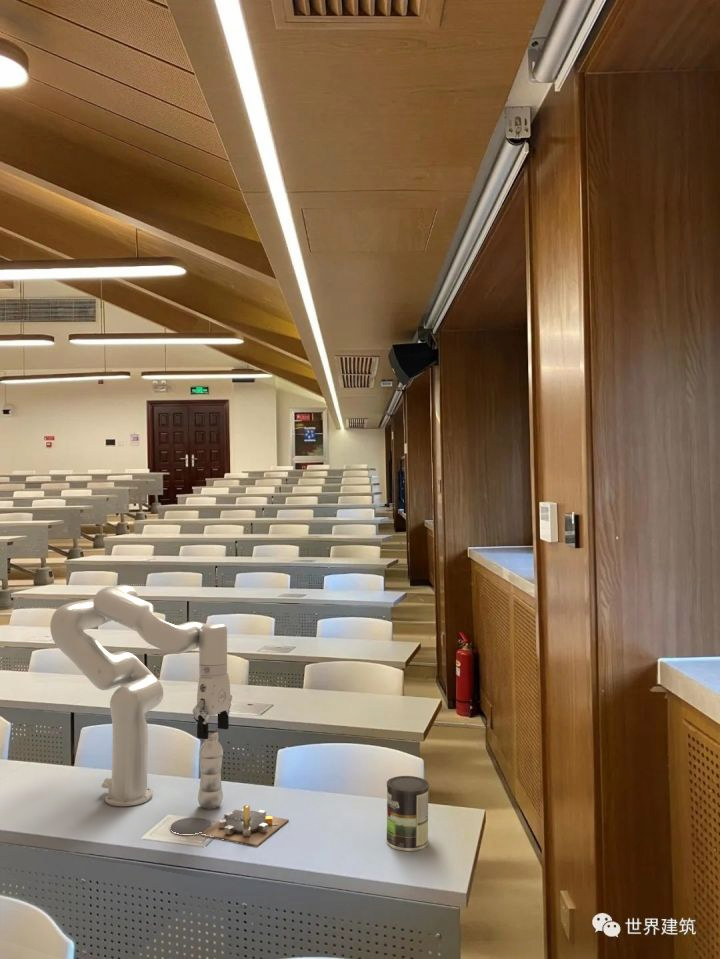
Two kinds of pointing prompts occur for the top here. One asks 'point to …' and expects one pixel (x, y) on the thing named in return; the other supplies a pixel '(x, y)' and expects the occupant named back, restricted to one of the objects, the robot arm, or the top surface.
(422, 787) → the coffee can
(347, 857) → the top surface
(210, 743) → the plastic bottle
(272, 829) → the base plate
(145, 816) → the top surface
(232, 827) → the sprocket
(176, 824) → the pad
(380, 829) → the top surface
